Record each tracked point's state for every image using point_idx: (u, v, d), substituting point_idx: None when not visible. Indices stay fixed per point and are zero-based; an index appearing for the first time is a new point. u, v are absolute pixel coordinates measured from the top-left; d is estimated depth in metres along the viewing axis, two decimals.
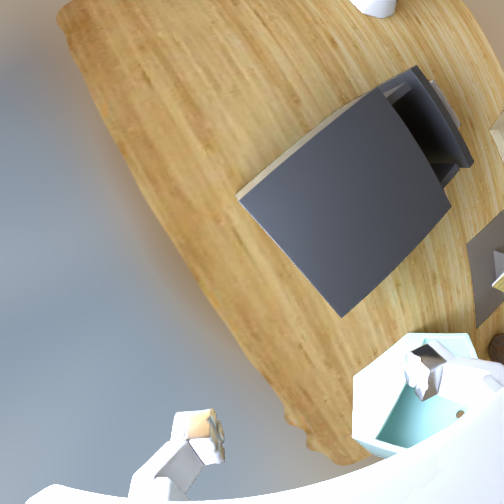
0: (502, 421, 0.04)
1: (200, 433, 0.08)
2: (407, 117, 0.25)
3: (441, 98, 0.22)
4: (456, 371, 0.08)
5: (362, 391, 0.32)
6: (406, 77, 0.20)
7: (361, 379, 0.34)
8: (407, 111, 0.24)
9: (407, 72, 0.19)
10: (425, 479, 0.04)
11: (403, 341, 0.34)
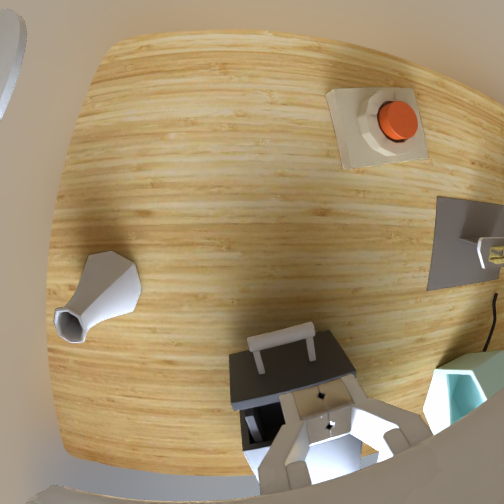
0: (502, 421, 0.04)
1: (315, 410, 0.08)
2: None
3: (273, 346, 0.24)
4: (364, 416, 0.08)
5: (431, 421, 0.34)
6: None
7: (427, 412, 0.36)
8: None
9: None
10: (425, 479, 0.04)
11: (435, 378, 0.35)
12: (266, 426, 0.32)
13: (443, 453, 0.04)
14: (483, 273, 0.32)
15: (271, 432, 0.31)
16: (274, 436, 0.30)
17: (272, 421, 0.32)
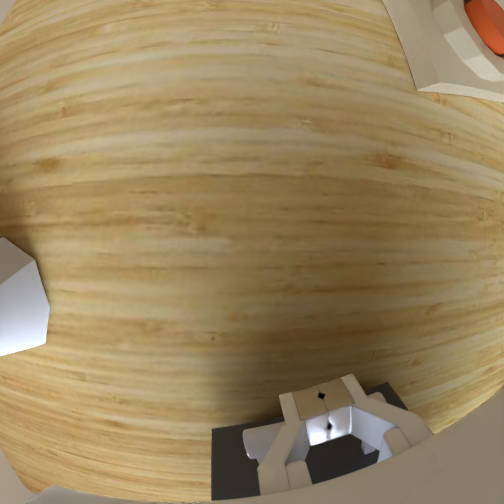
0: (502, 421, 0.04)
1: (315, 410, 0.08)
2: None
3: None
4: (364, 416, 0.08)
5: None
6: None
7: None
8: None
9: None
10: (425, 479, 0.04)
11: None
12: None
13: (443, 453, 0.04)
14: None
15: None
16: None
17: None
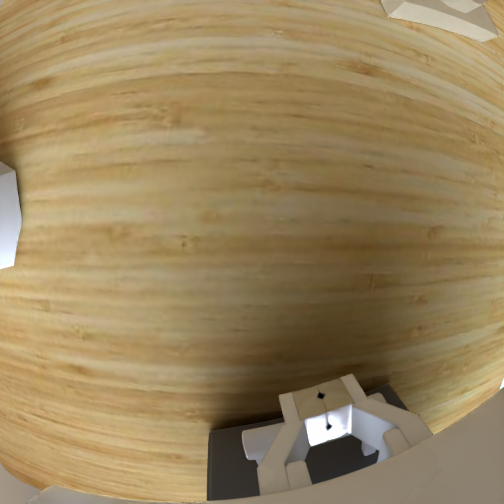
0: (502, 421, 0.04)
1: (315, 410, 0.08)
2: None
3: None
4: (363, 416, 0.08)
5: None
6: None
7: None
8: None
9: None
10: (425, 479, 0.04)
11: None
12: None
13: (443, 453, 0.04)
14: None
15: None
16: None
17: None
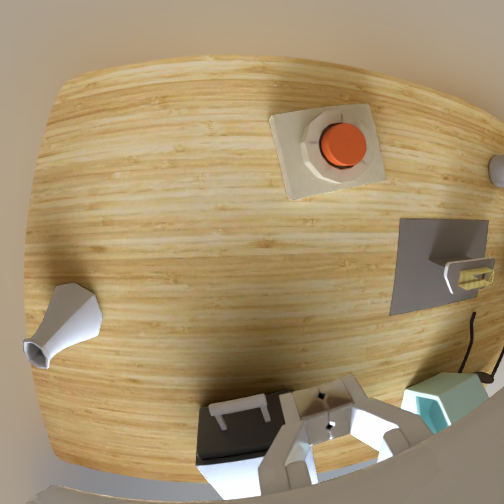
0: (502, 421, 0.04)
1: (315, 410, 0.08)
2: None
3: (231, 412, 0.26)
4: (364, 416, 0.08)
5: None
6: None
7: None
8: None
9: None
10: (425, 479, 0.04)
11: (405, 398, 0.35)
12: None
13: (443, 453, 0.04)
14: None
15: None
16: None
17: None
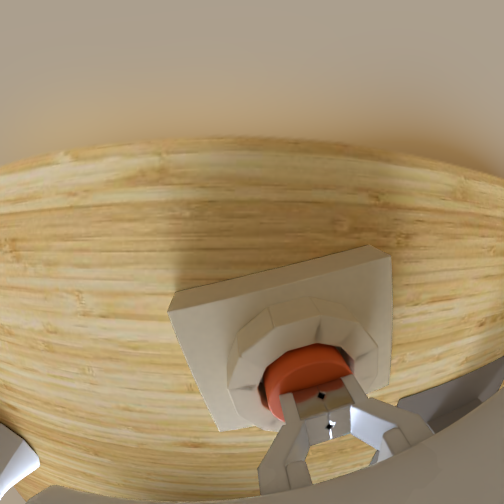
0: (502, 421, 0.04)
1: (315, 410, 0.08)
2: None
3: None
4: (363, 416, 0.08)
5: None
6: None
7: None
8: None
9: None
10: (425, 479, 0.04)
11: None
12: None
13: (443, 453, 0.04)
14: None
15: None
16: None
17: None
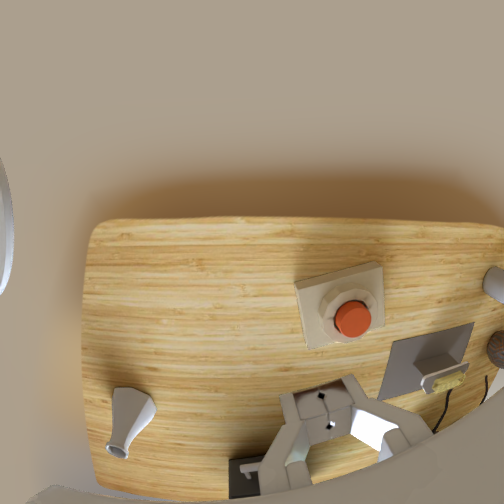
0: (502, 421, 0.04)
1: (315, 410, 0.08)
2: None
3: (255, 471, 0.33)
4: (363, 416, 0.08)
5: None
6: None
7: None
8: None
9: None
10: (425, 479, 0.04)
11: None
12: None
13: (443, 453, 0.04)
14: None
15: None
16: None
17: None
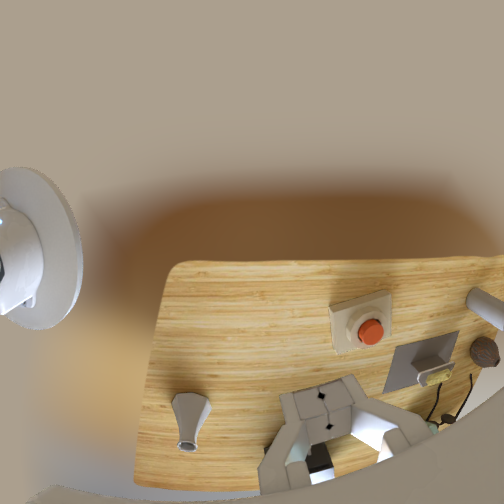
0: (502, 421, 0.04)
1: (315, 410, 0.08)
2: None
3: None
4: (364, 416, 0.08)
5: None
6: None
7: None
8: None
9: None
10: (425, 479, 0.04)
11: None
12: None
13: (443, 453, 0.04)
14: None
15: None
16: None
17: None
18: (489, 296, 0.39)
